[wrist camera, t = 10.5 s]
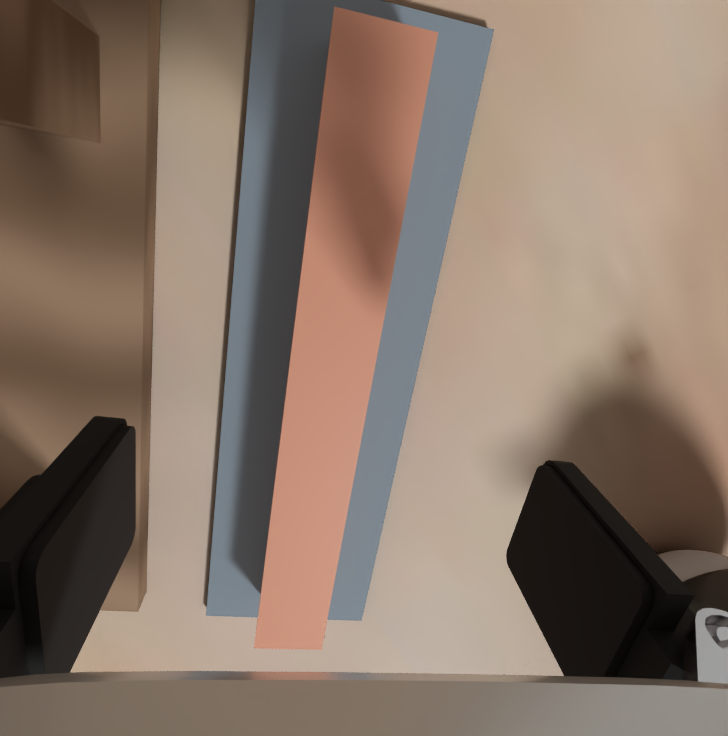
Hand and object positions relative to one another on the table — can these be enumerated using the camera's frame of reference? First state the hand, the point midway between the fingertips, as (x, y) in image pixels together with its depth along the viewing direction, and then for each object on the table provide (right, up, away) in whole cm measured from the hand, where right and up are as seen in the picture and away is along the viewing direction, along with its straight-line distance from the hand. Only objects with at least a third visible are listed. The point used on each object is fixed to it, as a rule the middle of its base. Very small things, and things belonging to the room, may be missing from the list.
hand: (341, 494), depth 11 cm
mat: (-1, +3, +9) cm, 10 cm away
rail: (-1, +3, +9) cm, 9 cm away
